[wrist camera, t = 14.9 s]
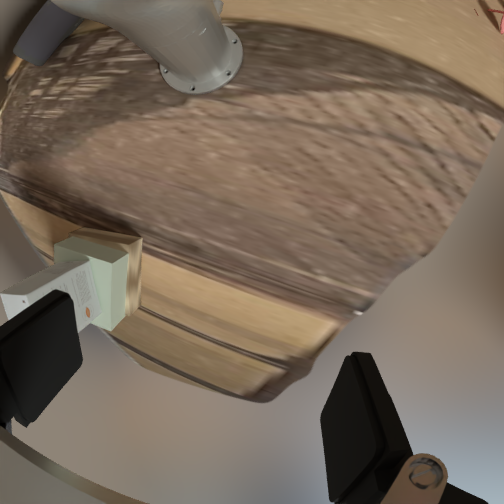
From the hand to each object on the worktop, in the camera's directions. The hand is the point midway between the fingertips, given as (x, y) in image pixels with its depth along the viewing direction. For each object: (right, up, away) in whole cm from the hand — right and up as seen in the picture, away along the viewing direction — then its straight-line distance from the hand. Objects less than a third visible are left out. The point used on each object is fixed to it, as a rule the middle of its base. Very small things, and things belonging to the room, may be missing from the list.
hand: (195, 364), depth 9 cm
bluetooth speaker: (-31, +49, +24) cm, 63 cm away
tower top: (-23, 0, +33) cm, 40 cm away
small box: (-23, -1, +28) cm, 36 cm away
